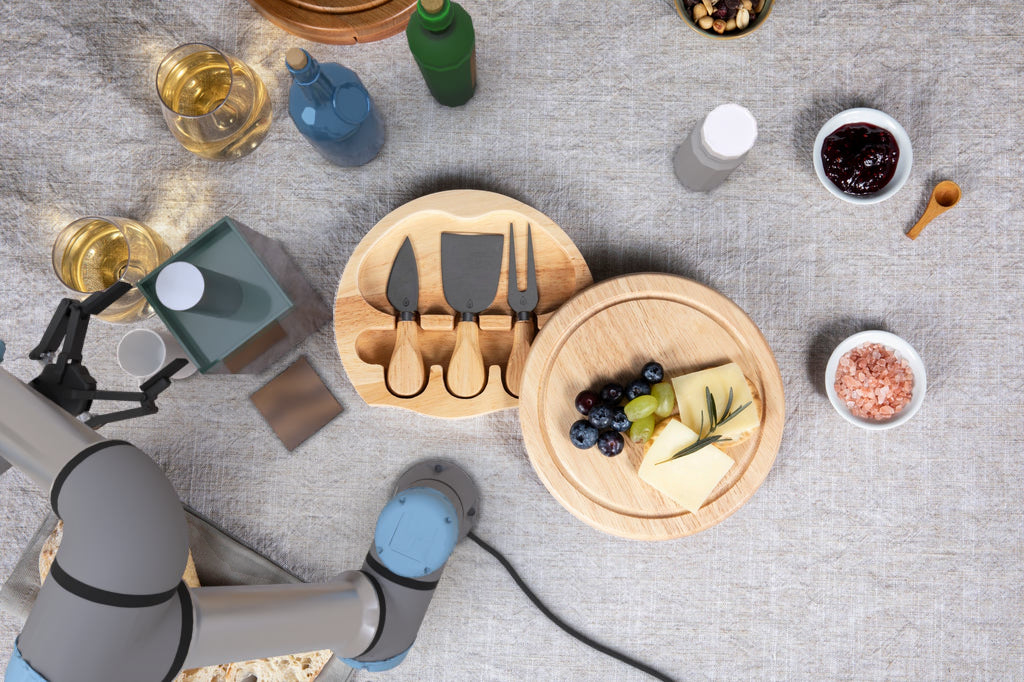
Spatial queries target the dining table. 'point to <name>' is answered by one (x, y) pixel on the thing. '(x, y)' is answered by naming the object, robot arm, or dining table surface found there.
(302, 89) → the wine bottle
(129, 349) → the mug
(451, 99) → the bottle
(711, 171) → the jar
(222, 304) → the can
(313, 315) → the teal boxy piece
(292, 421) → the brown coaster
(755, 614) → the dining table surface
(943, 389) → the dining table surface
